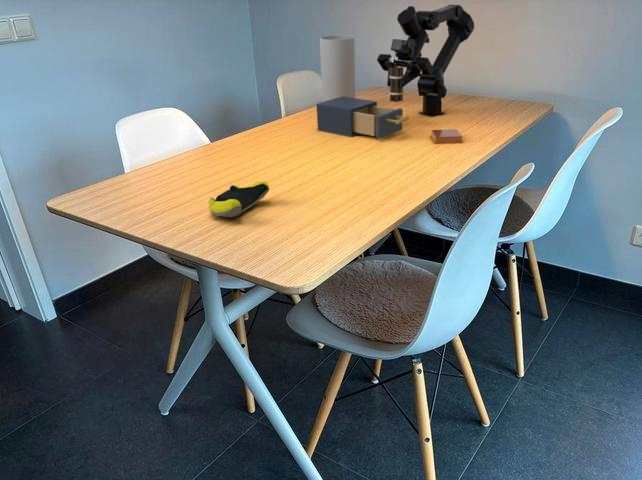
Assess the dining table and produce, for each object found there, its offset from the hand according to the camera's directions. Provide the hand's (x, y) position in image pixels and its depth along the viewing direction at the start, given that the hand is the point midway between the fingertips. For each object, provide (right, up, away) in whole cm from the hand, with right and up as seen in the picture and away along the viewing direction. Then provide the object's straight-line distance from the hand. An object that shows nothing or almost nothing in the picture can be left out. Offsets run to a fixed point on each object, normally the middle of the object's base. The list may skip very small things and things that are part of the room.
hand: (394, 86), depth 178 cm
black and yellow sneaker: (-40, -46, -51) cm, 79 cm away
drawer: (-4, -15, 0) cm, 15 cm away
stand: (+16, -18, -6) cm, 25 cm away
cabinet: (-15, -11, +8) cm, 20 cm away
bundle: (+1, -3, +3) cm, 5 cm away
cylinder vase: (-18, +3, +35) cm, 39 cm away
